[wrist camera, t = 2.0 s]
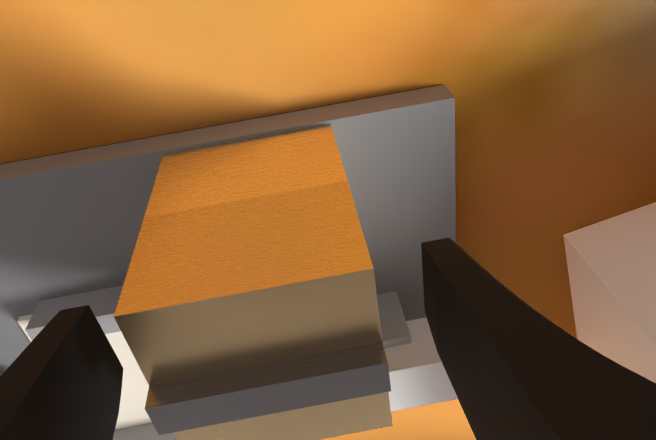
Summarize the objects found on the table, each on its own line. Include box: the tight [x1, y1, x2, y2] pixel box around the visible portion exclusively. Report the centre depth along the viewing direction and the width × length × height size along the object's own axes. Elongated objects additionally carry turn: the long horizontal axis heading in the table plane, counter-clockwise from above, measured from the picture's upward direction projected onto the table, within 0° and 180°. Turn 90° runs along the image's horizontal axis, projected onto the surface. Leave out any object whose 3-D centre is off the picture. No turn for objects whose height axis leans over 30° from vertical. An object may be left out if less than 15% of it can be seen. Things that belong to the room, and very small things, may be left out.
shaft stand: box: [0, 85, 458, 440], centre depth 16 cm, size 19×11×4 cm, turn 98°
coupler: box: [114, 124, 392, 440], centre depth 12 cm, size 4×4×6 cm
